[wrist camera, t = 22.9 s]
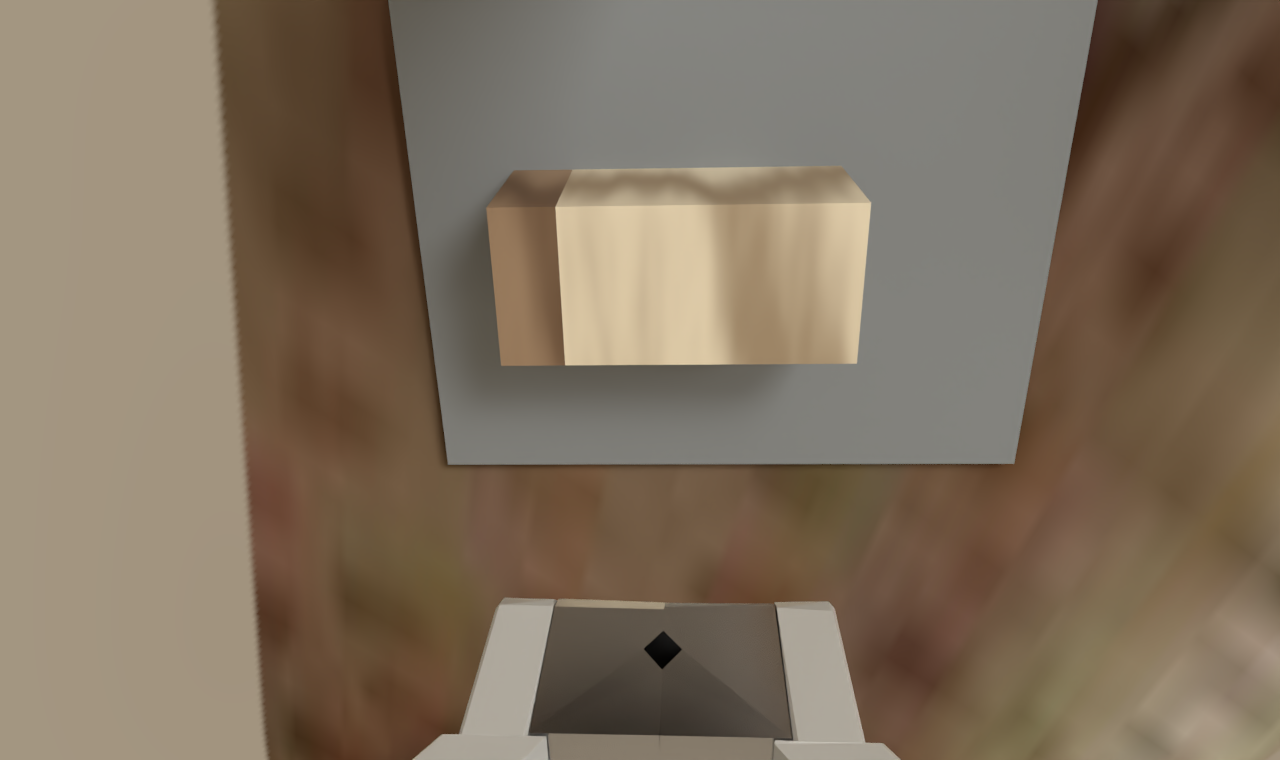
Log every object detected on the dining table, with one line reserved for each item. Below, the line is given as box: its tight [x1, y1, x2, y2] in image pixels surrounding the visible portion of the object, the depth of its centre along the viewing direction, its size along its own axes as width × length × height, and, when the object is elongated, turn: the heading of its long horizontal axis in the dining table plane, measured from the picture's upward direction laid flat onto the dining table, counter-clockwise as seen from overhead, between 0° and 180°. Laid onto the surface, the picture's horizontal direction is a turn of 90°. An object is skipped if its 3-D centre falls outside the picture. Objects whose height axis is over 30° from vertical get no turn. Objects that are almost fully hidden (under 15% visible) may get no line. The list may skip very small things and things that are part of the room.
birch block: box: [486, 166, 871, 366], centre depth 29 cm, size 5×5×11 cm
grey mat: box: [388, 0, 1098, 465], centre depth 31 cm, size 22×18×1 cm
